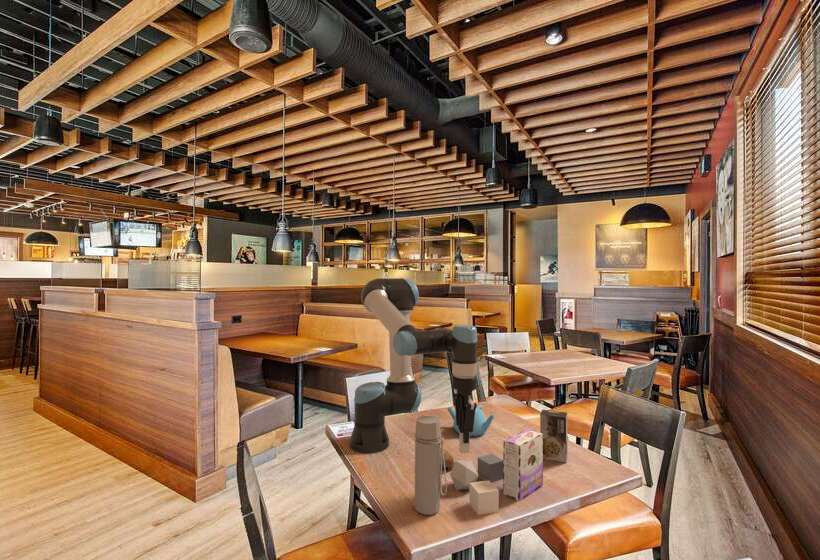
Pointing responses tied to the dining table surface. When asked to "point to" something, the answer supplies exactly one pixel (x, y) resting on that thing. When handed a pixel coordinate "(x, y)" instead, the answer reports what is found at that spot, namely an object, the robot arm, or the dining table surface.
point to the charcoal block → (490, 468)
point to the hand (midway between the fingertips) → (464, 452)
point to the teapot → (475, 421)
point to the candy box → (522, 464)
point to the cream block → (484, 497)
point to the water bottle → (428, 465)
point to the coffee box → (554, 435)
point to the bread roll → (446, 461)
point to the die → (463, 474)
